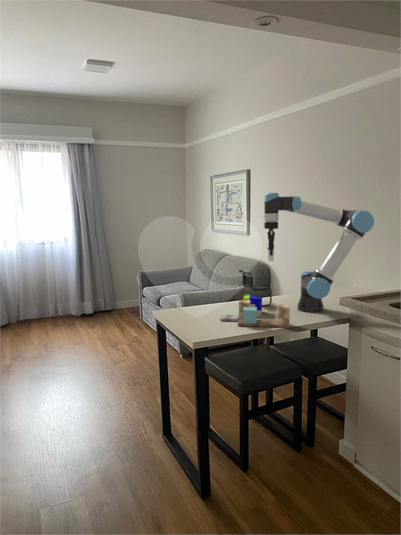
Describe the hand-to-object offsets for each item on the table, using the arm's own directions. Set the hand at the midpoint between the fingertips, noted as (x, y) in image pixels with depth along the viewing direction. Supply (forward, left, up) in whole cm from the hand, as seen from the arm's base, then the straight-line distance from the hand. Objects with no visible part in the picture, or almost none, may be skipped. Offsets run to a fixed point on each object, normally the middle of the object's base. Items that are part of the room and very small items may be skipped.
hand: (270, 259), depth 223 cm
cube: (+11, +20, -30) cm, 38 cm away
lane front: (+4, +20, -31) cm, 37 cm away
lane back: (+19, +11, -31) cm, 38 cm away
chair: (+9, -25, -32) cm, 42 cm away
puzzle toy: (+10, -3, -32) cm, 34 cm away
